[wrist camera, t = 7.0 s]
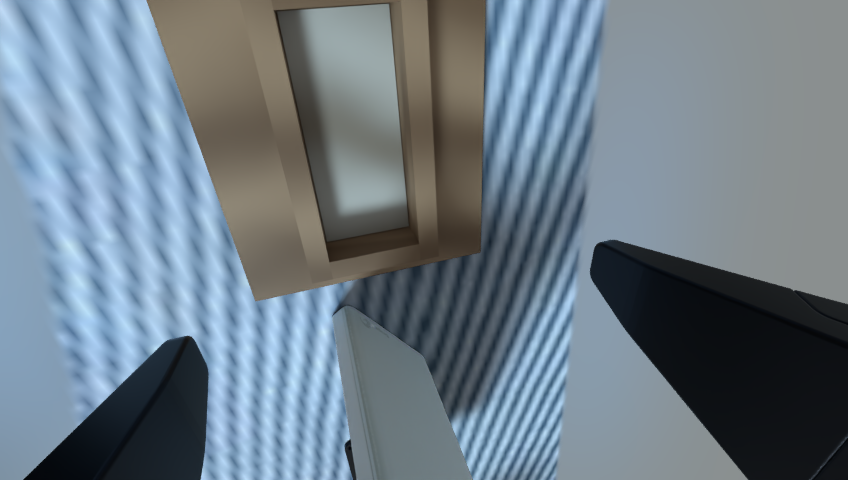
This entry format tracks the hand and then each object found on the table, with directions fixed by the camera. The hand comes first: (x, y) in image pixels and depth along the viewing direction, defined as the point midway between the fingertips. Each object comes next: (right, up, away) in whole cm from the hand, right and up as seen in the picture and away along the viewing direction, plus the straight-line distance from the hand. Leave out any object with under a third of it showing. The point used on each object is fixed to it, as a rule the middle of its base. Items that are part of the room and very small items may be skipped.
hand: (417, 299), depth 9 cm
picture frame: (-3, +7, +11) cm, 13 cm away
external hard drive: (-3, -5, +18) cm, 19 cm away
